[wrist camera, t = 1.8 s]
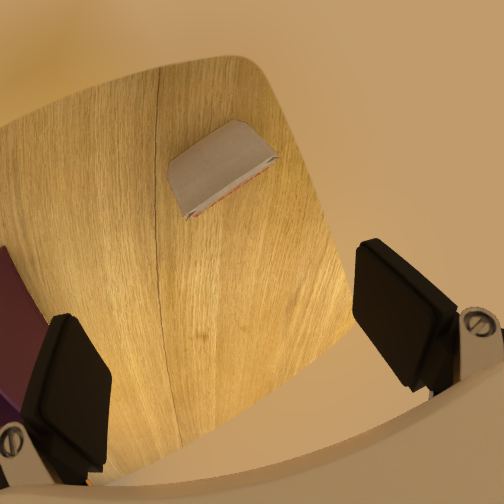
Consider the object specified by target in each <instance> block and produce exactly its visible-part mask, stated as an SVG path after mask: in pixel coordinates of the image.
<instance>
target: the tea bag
mask: <svg viewBox="0 0 504 504" xmlns="http://www.w3.org/2000/svg"><path fill="white" fill-rule="evenodd" d="M276 154H277V152H276V151H275V150H274V149H272V148H271V147H270V146H269V145H268V144H267V143H266V142H265V141H264V140H263V139H262V138H261V137H260V136H259V135H258V134H257V133H256V132H255V131H254V130H253V129H252V128H251V127H250V126H249V125H248V124H247V123H244V122H241V121H238V120H234V119H232V120H230V121H229V122H227V123H226V124H224V125H222V126H221V127H219V128H218V129H216V130H215V131H213V132H212V133H210V134H209V135H207V136H206V137H204V138H203V139H201V140H200V141H198V142H197V143H195V144H194V145H193V146H191V147H190V148H188V149H187V150H185V151H184V152H183V153H181V154H180V155H178V156H177V157H176V158H174V159H173V160H172V161H170V162H169V168H168V175H167V179H168V181H169V183H170V186H171V188H172V190H173V193H174V195H175V197H176V200H177V202H178V205H179V207H180V210H181V213H182V216H185V215H188V214H189V215H188V218H187V220H188V219H190V218H191V217H195V216H198V215H200V214H201V213H203V212H204V211H205V210H207V209H208V208H210V207H211V206H213V205H214V204H215V203H217V202H218V201H220V200H221V199H223V198H224V197H226V196H227V195H229V194H230V193H232V192H233V191H234V190H236V189H237V188H239V187H240V186H242V185H243V184H245V183H246V182H248V181H249V180H251V179H252V178H254V177H256V176H257V175H259V174H260V173H262V172H263V171H265V170H266V169H268V168H269V167H271V166H272V165H273V164H274V162H275V161H276V160H277V159H279V157H273V156H275V155H276ZM187 220H186V221H187Z"/></svg>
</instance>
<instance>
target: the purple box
mask: <svg viewBox="0 0 504 504" xmlns="http://www.w3.org/2000/svg"><path fill="white" fill-rule="evenodd" d="M48 328H49V326H48V324H47V323H46V321H45V319H44V318H43V316H42V315H41V313H40V311H39V310H38V308H37V306H36V305H35V303H34V301H33V300H32V298H31V296H30V294H29V293H28V291H27V289H26V287H25V285H24V283H23V282H22V280H21V278H20V276H19V274H18V272H17V270H16V268H15V266H14V264H13V262H12V260H11V258H10V256H9V254H8V252H7V249H6V247H5V246H3V247H0V429H1V428H2V427H3V426H4V425H6V424H8V423H10V422H19V423H20V424H22V425H23V421H24V420H23V419H22V418H21V417H20V416H19V415H20V411H21V407H22V404H23V400H24V397H25V393H26V390H27V387H28V383H29V380H30V377H31V374H32V371H33V368H34V365H35V362H36V359H37V356H38V354H39V351H40V348H41V345H42V343H43V340H44V338H45V335H46V333H47V330H48Z"/></svg>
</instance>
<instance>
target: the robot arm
mask: <svg viewBox="0 0 504 504" xmlns="http://www.w3.org/2000/svg"><path fill="white" fill-rule="evenodd" d="M457 307H458V306H457V305H456V304H454V303H453V302H452V301H451V300H450V299H449V298H448V297H447V296H446V295H445V294H443V293H442V292H441V291H440V290H439V289H438V288H437V287H436V286H434V285H433V284H432V283H431V282H430V281H429V280H428V279H427V278H425V277H424V276H423V275H422V274H421V273H420V272H419V271H417V270H416V269H415V268H414V267H413V266H411V265H410V264H409V263H408V262H407V261H405V260H404V259H403V258H402V257H401V256H399V255H398V254H397V253H396V252H395V251H393V250H392V249H391V248H390V247H388V246H387V245H386V244H384V243H383V242H382V241H381V240H380V239H378V238H374V239H370V240H367V241H363V242H361V243H360V246H359V247H358V248H357V249H356V262H355V279H354V295H353V307H352V312H353V316H354V318H355V320H356V321H357V323H358V324H359V325H360V327H361V328H362V329H363V331H364V332H365V333H366V335H367V336H368V337H369V339H370V340H371V341H372V343H373V344H374V346H375V347H376V348H377V350H378V351H379V352H380V354H381V355H382V357H383V358H384V359H385V361H386V362H387V363H388V365H389V366H390V368H391V369H392V370H393V372H394V373H395V375H396V376H397V377H398V379H399V380H400V381H401V383H402V384H403V385H404V386H405V387H407V386H408V387H409V388H410V389H411V391H412V392H415V391H417V390H419V389H421V388H423V387H424V386H427V388H428V389H429V390H430V392H429V400H428V401H426V402H424V403H422V404H420V405H419V406H417V407H415V408H413V409H411V410H409V411H407V412H406V413H404V414H402V415H400V416H398V417H396V418H394V419H392V420H390V421H388V422H386V423H384V424H381V425H379V426H377V427H375V428H373V429H370V430H368V431H366V432H364V433H361V434H359V435H357V436H355V437H352V438H349V439H347V440H344V441H342V442H340V443H337V444H334V445H332V446H329V447H326V448H324V449H321V450H318V451H315V452H312V453H309V454H306V455H303V456H300V457H297V458H294V459H291V460H287V461H283V462H280V463H277V464H273V465H269V466H266V467H261V468H257V469H253V470H249V471H244V472H240V473H235V474H230V475H225V476H219V477H214V478H208V479H201V480H195V481H187V482H179V483H169V484H159V485H144V486H94V485H93V484H92V483H91V481H90V480H89V479H88V478H87V477H88V472H101V473H103V464H105V463H106V459H107V433H108V417H109V405H110V394H111V384H112V376H111V372H110V370H109V369H108V367H107V366H106V364H105V363H104V361H103V360H102V358H101V357H100V355H99V354H98V352H97V350H96V349H95V347H94V346H93V344H92V343H91V341H90V339H89V338H88V336H87V334H86V333H85V331H84V329H83V328H82V326H81V324H80V323H79V321H78V319H77V318H76V317H74V316H73V317H72V315H71V314H69V313H66V314H61V315H57V316H54V317H53V318H52V320H51V323H50V325H49V328H48V330H47V333H46V335H45V338H44V340H43V343H42V345H41V348H40V351H39V354H38V356H37V359H36V362H35V365H34V368H33V371H32V374H31V377H30V380H29V383H28V387H27V390H26V393H25V397H24V400H23V404H22V407H21V411H20V415H19V416H20V417H21V418H22V419H23V420H24V421H23V425H22V424H20V423H19V422H10V423H8V424H6V425H4V426H3V427H2V428H1V429H0V504H504V329H502V328H501V327H500V323H499V321H498V319H497V318H496V316H495V315H493V314H492V313H491V312H490V311H488V310H486V309H484V308H480V307H470V308H466V309H465V310H463V311H462V312H461V314H459V313H458V312H456V310H457Z"/></svg>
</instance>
